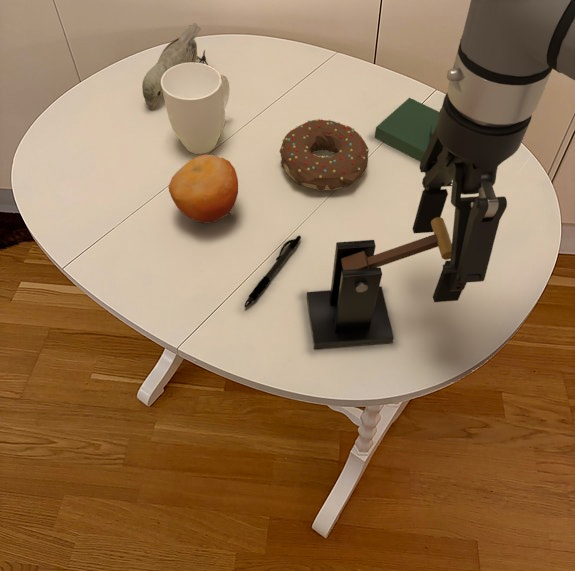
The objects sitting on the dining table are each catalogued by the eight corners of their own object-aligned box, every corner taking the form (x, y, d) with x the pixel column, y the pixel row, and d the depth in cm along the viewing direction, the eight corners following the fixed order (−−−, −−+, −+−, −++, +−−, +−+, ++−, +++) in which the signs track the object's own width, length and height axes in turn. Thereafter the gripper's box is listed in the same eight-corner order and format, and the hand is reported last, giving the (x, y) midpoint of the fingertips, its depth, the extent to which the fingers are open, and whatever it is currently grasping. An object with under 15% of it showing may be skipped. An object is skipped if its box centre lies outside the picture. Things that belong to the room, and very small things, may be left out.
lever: (445, 225, 68) (441, 212, 66) (457, 259, 65) (452, 247, 63) (346, 260, 71) (339, 249, 69) (352, 294, 68) (345, 283, 66)
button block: (481, 144, 98) (488, 124, 94) (450, 177, 93) (457, 157, 90) (407, 108, 103) (411, 88, 100) (374, 137, 98) (377, 118, 95)
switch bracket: (380, 291, 80) (395, 228, 70) (392, 342, 75) (410, 283, 65) (306, 297, 79) (310, 233, 69) (314, 349, 75) (319, 290, 64)
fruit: (194, 250, 85) (170, 203, 77) (179, 208, 90) (156, 161, 83) (257, 225, 85) (239, 176, 78) (238, 185, 91) (221, 135, 83)
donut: (264, 154, 96) (264, 129, 91) (337, 128, 99) (340, 103, 95) (308, 212, 88) (309, 188, 84) (385, 182, 92) (390, 157, 88)
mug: (203, 170, 93) (194, 106, 84) (161, 147, 96) (148, 83, 86) (249, 130, 99) (245, 66, 89) (208, 110, 102) (200, 46, 92)
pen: (293, 236, 85) (293, 231, 84) (303, 240, 85) (303, 235, 84) (238, 305, 78) (238, 300, 77) (249, 311, 78) (248, 306, 77)
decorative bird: (136, 105, 102) (128, 67, 96) (187, 57, 111) (182, 19, 105) (163, 115, 101) (155, 77, 95) (212, 65, 109) (209, 27, 103)
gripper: (417, 31, 57) (383, 196, 75) (484, 197, 44) (424, 348, 63) (493, 28, 58) (441, 192, 76) (581, 191, 45) (494, 342, 63)
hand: (434, 263), depth 69 cm, fingers open, 9 cm apart
